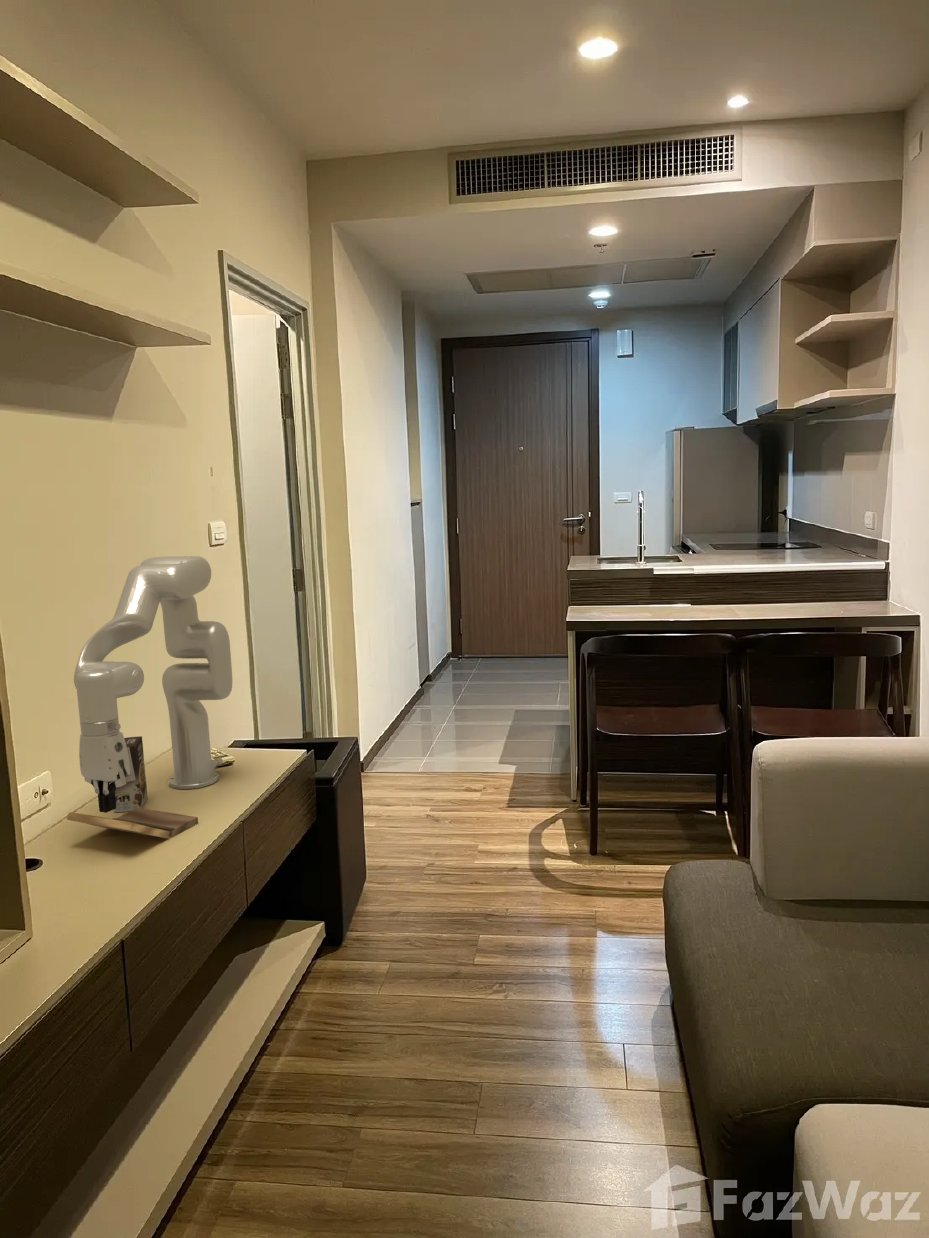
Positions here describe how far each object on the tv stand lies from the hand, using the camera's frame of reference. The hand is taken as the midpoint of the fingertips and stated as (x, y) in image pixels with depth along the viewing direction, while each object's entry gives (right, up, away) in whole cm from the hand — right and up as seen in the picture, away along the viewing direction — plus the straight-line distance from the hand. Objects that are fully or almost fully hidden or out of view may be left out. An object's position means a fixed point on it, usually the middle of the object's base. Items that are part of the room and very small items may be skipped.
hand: (108, 810), depth 187 cm
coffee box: (-5, -5, +26) cm, 27 cm away
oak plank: (+1, -5, +3) cm, 6 cm away
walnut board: (+5, -6, +13) cm, 15 cm away
